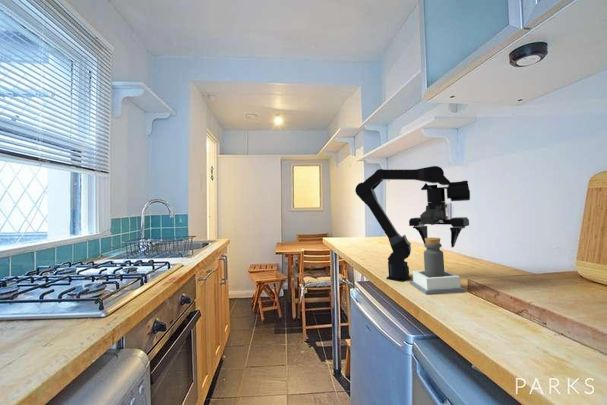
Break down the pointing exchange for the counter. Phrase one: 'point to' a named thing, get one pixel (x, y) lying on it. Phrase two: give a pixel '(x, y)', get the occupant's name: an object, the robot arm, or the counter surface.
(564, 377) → the counter surface
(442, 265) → the bottle
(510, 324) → the counter surface
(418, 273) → the holder
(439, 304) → the counter surface
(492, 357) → the counter surface
